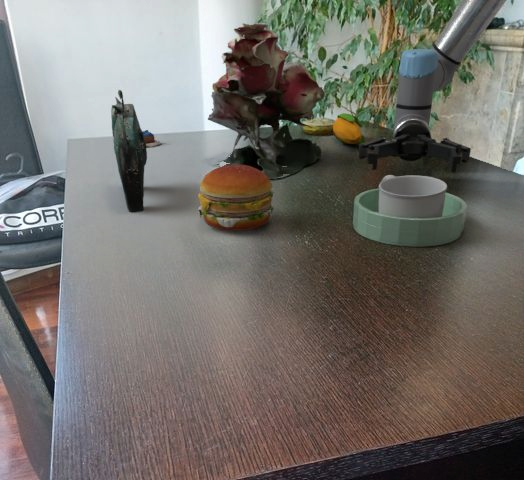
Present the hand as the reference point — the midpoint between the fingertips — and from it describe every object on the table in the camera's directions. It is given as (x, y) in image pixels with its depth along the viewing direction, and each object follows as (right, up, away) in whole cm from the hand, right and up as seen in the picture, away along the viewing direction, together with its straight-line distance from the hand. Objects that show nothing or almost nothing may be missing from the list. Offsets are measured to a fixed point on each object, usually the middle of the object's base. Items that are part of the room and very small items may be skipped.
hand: (414, 163), depth 100 cm
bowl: (-1, -11, 0) cm, 11 cm away
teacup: (-2, -12, -2) cm, 12 cm away
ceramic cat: (-52, -2, +17) cm, 55 cm away
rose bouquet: (-27, +14, +41) cm, 51 cm away
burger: (-31, -10, +3) cm, 33 cm away
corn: (-3, +24, +58) cm, 62 cm away
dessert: (-59, +25, +60) cm, 88 cm away
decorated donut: (-9, +33, +72) cm, 80 cm away
